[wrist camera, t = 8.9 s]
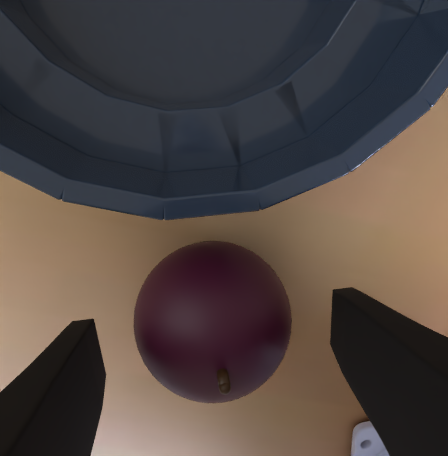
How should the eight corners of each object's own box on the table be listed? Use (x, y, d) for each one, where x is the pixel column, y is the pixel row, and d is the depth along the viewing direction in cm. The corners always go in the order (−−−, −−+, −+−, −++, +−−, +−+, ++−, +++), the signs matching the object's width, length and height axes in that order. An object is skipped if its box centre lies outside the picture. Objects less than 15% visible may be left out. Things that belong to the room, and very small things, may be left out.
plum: (271, 324, 16) (319, 448, 11) (148, 340, 15) (138, 477, 10) (268, 211, 14) (326, 294, 9) (130, 225, 13) (106, 321, 8)
